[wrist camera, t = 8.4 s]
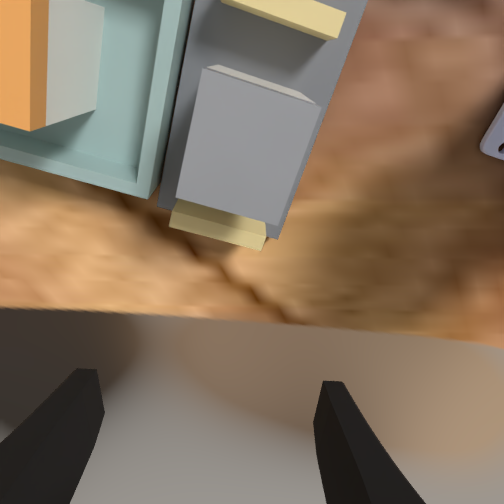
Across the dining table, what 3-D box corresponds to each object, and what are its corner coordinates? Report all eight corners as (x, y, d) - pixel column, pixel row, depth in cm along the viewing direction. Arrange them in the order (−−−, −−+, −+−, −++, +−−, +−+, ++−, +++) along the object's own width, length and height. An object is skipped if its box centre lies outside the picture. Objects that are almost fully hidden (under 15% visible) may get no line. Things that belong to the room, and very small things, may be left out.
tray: (200, -34, 14) (191, -51, 12) (160, 182, 18) (147, 199, 16) (-81, -140, 13) (-151, -181, 10) (-55, 121, 17) (-100, 131, 15)
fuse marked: (104, 7, 14) (30, -18, 10) (95, 109, 16) (30, 131, 11) (10, -26, 14) (-118, -70, 9) (12, 84, 16) (-95, 95, 11)
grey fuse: (299, 91, 15) (321, 107, 11) (270, 178, 17) (277, 225, 12) (218, 64, 15) (202, 67, 10) (197, 156, 17) (175, 197, 12)
